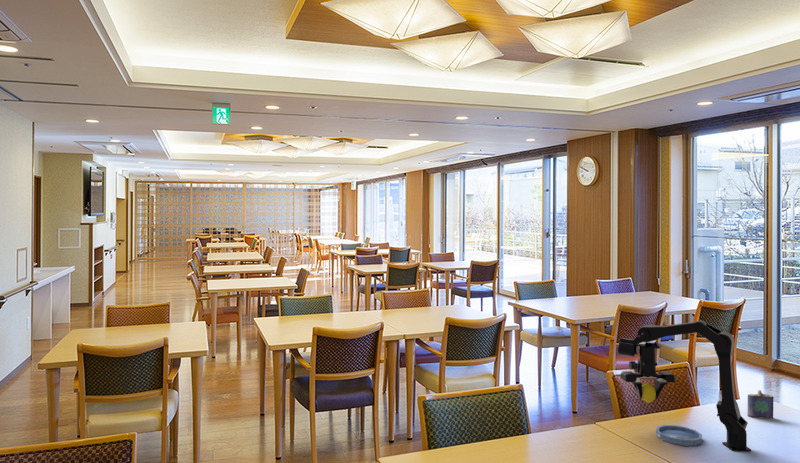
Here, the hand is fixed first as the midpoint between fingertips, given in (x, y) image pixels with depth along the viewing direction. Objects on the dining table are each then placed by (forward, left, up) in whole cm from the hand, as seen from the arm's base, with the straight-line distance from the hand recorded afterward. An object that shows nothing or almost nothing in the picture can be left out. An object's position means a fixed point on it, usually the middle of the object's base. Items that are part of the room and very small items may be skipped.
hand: (648, 399), depth 203 cm
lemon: (0, 0, -2) cm, 2 cm away
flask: (+15, -51, -11) cm, 55 cm away
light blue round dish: (-9, -7, -11) cm, 16 cm away
